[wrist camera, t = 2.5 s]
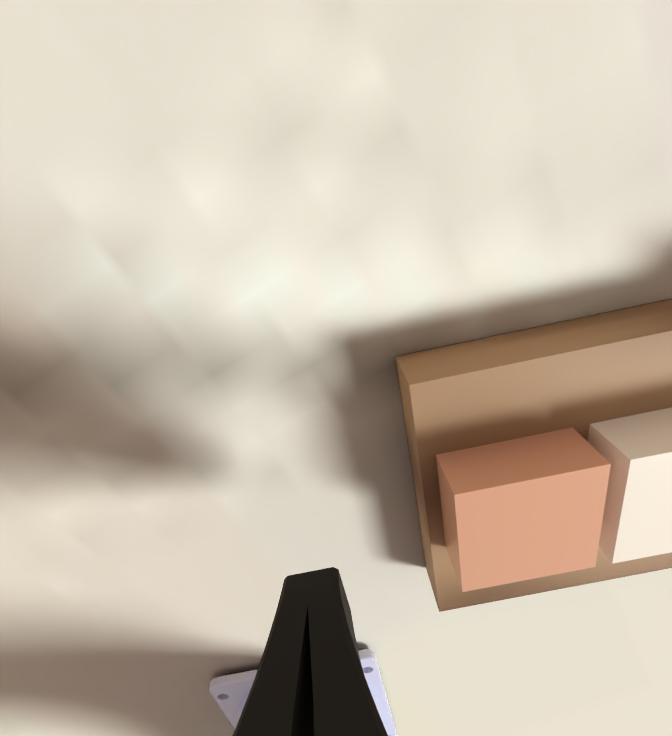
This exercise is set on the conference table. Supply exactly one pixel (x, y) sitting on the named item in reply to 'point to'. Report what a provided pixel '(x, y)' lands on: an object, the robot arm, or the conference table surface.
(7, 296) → the conference table surface
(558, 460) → the terracotta tile
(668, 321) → the walnut board
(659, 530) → the cream tile
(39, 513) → the conference table surface
